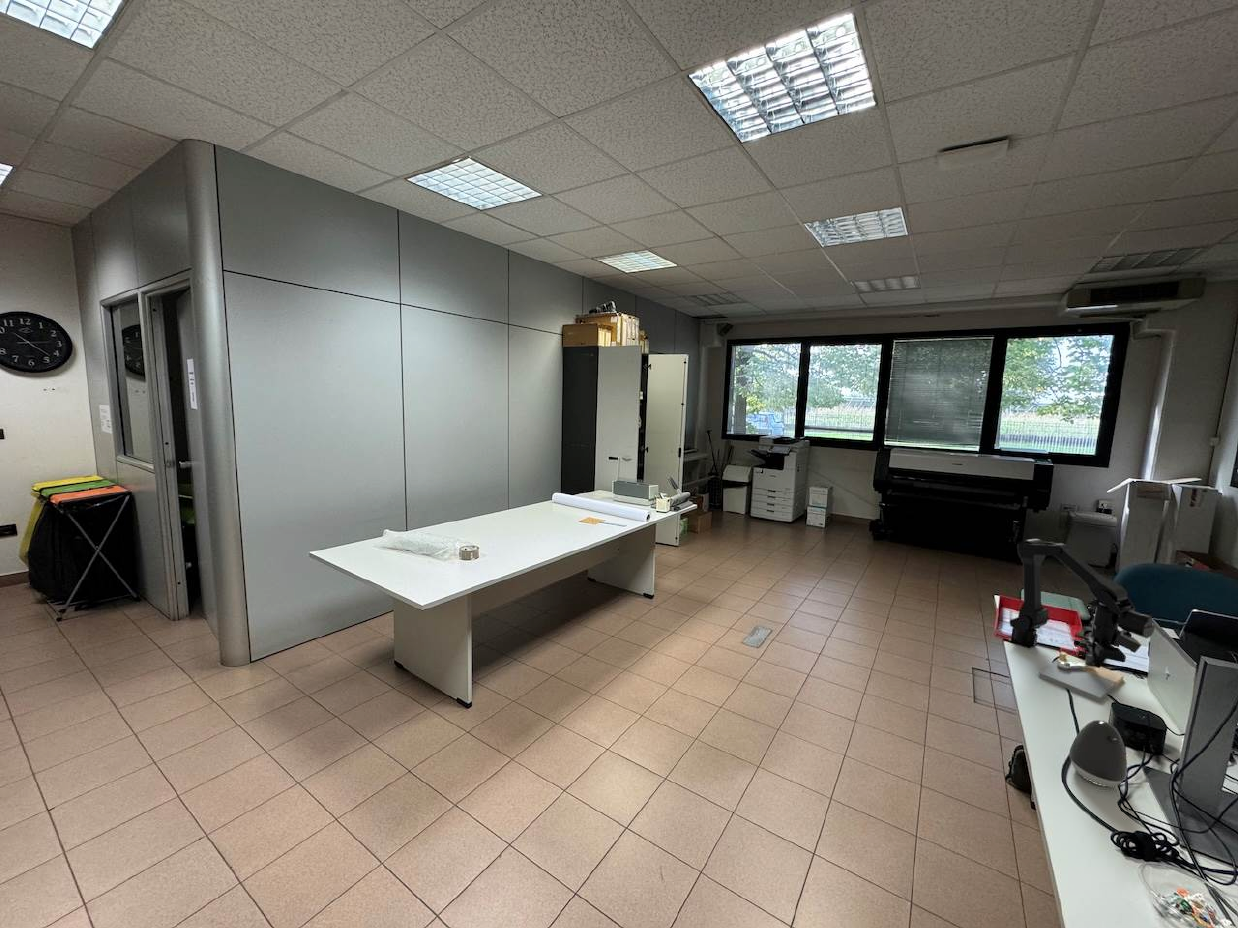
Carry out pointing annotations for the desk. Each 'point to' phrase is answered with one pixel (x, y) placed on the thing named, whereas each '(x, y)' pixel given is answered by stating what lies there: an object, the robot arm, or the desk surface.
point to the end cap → (1082, 645)
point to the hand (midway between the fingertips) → (1097, 667)
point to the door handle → (1077, 664)
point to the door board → (1082, 678)
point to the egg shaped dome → (1099, 754)
